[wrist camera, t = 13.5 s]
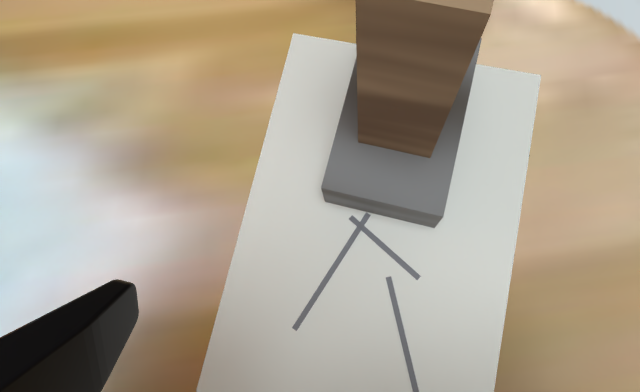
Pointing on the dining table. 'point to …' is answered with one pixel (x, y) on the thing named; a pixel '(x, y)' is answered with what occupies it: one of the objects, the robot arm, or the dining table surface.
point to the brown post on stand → (405, 107)
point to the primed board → (371, 252)
